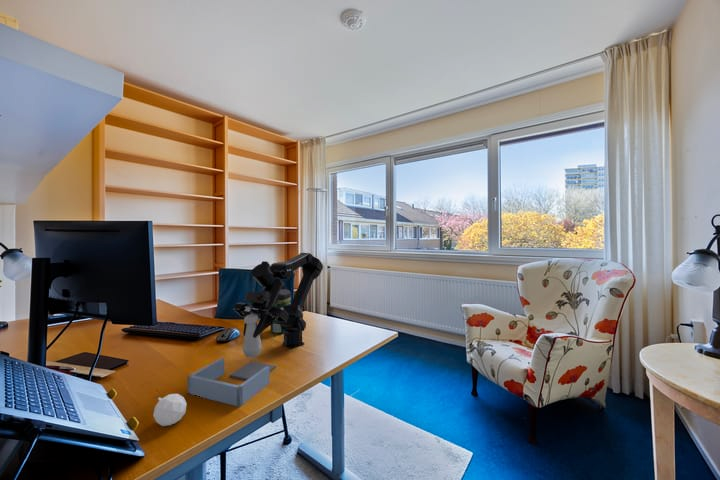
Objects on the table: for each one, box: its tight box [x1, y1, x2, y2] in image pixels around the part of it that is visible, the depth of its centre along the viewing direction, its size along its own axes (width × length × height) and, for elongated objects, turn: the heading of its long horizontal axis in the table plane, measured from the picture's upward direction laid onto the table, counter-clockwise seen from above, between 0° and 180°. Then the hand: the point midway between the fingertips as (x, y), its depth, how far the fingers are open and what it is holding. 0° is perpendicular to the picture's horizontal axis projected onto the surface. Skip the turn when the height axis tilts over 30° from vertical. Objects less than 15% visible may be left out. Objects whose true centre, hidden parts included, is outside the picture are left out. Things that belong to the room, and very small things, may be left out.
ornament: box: [152, 393, 188, 427], centre depth 70 cm, size 6×7×7 cm
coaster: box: [229, 360, 277, 381], centre depth 95 cm, size 10×10×1 cm
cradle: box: [187, 357, 270, 408], centre depth 85 cm, size 12×18×5 cm
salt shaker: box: [242, 314, 263, 359], centre depth 94 cm, size 6×6×13 cm
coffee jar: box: [269, 288, 292, 334], centre depth 133 cm, size 10×8×19 cm
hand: (249, 336), depth 92 cm, fingers closed on salt shaker, 3 cm apart
